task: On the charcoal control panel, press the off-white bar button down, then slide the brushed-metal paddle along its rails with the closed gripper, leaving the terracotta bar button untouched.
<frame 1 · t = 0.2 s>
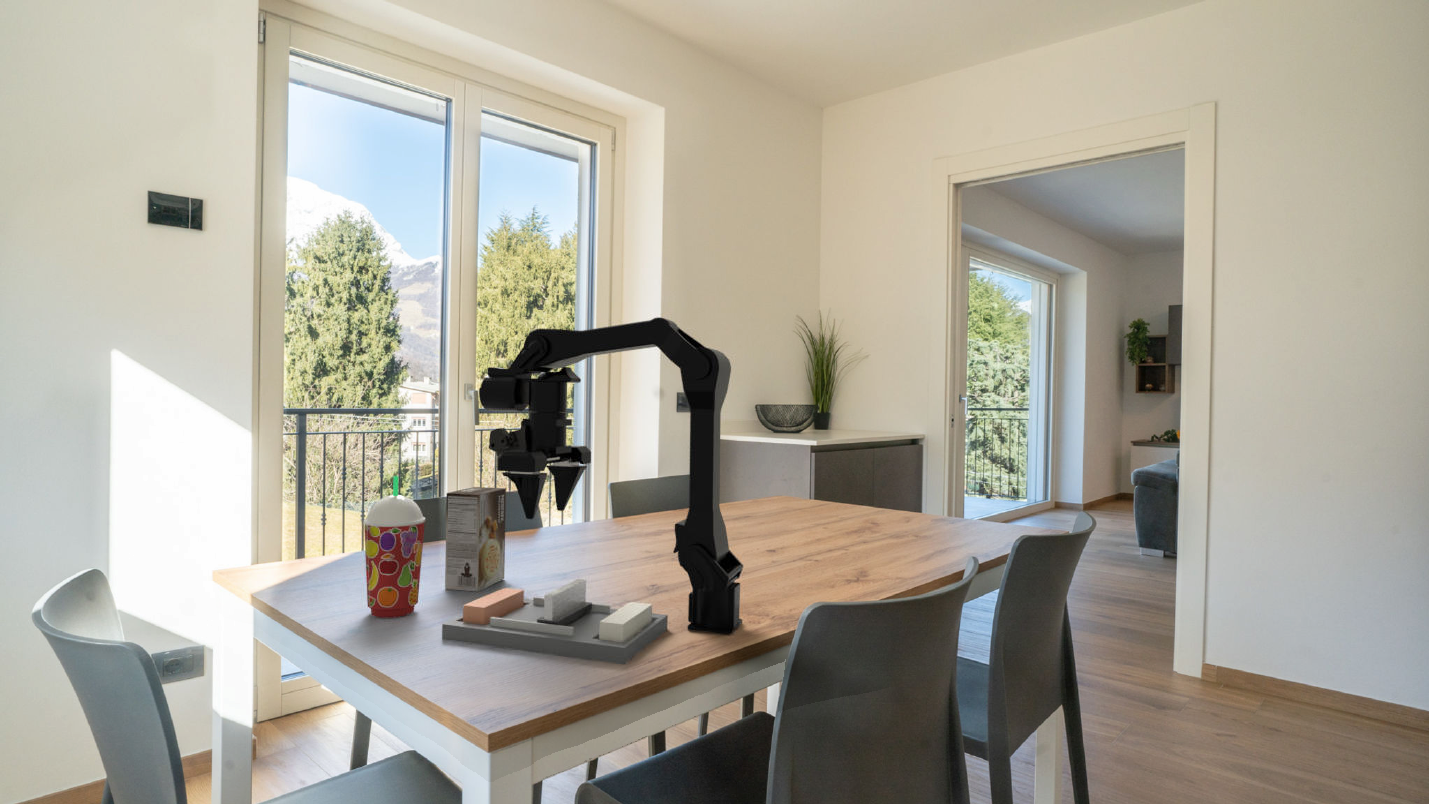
hand: (545, 514, 116), 14 cm above the table, tool pointing down, fingers open, 9 cm apart
smoothie: (392, 614, 111), on the table
button terracotta: (494, 606, 106), point 3 cm above the table, slide at 0.0 cm
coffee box: (475, 585, 129), on the table
slider paddle: (565, 602, 103), point 4 cm above the table, slide at 0.0 cm
button white: (626, 622, 100), point 3 cm above the table, slide at 0.0 cm
panel: (558, 634, 103), on the table
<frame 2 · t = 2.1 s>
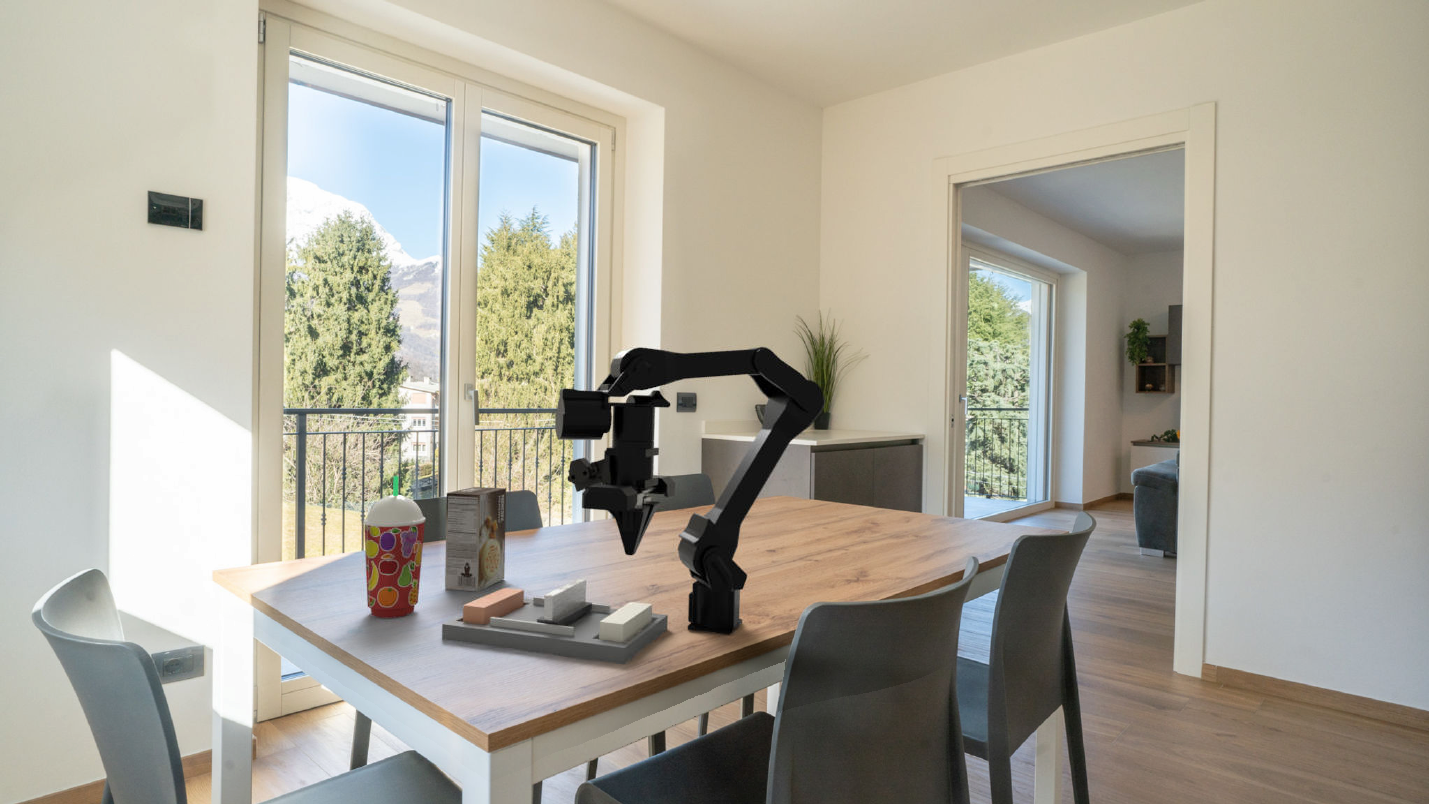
hand: (630, 554, 103), 11 cm above the table, tool pointing down, fingers closed
nothing on the table moved.
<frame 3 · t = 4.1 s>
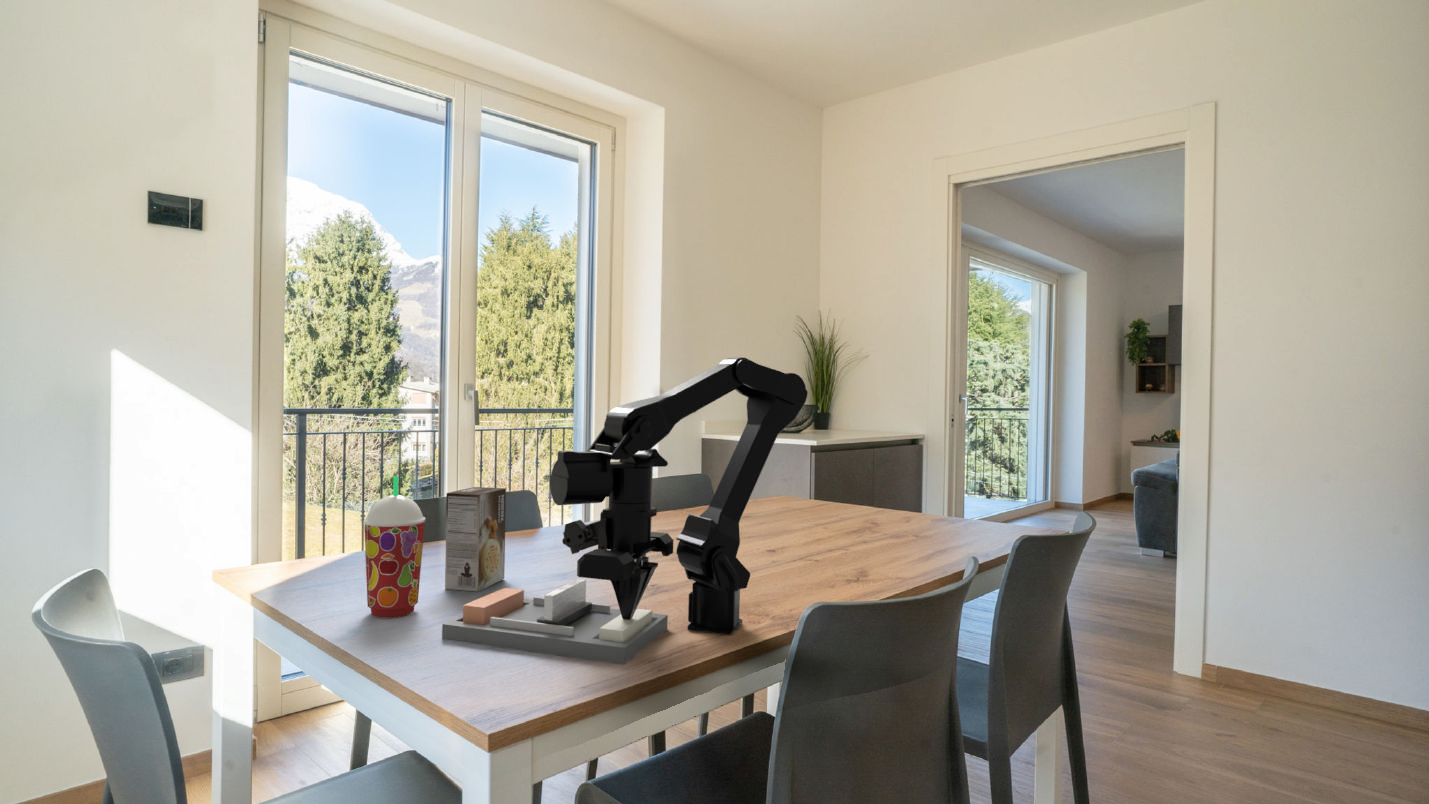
hand: (627, 618, 100), 3 cm above the table, tool pointing down, fingers closed, pressing on button white
button white: (626, 628, 100), point 2 cm above the table, slide at 0.9 cm, touching gripper
everything else where it was.
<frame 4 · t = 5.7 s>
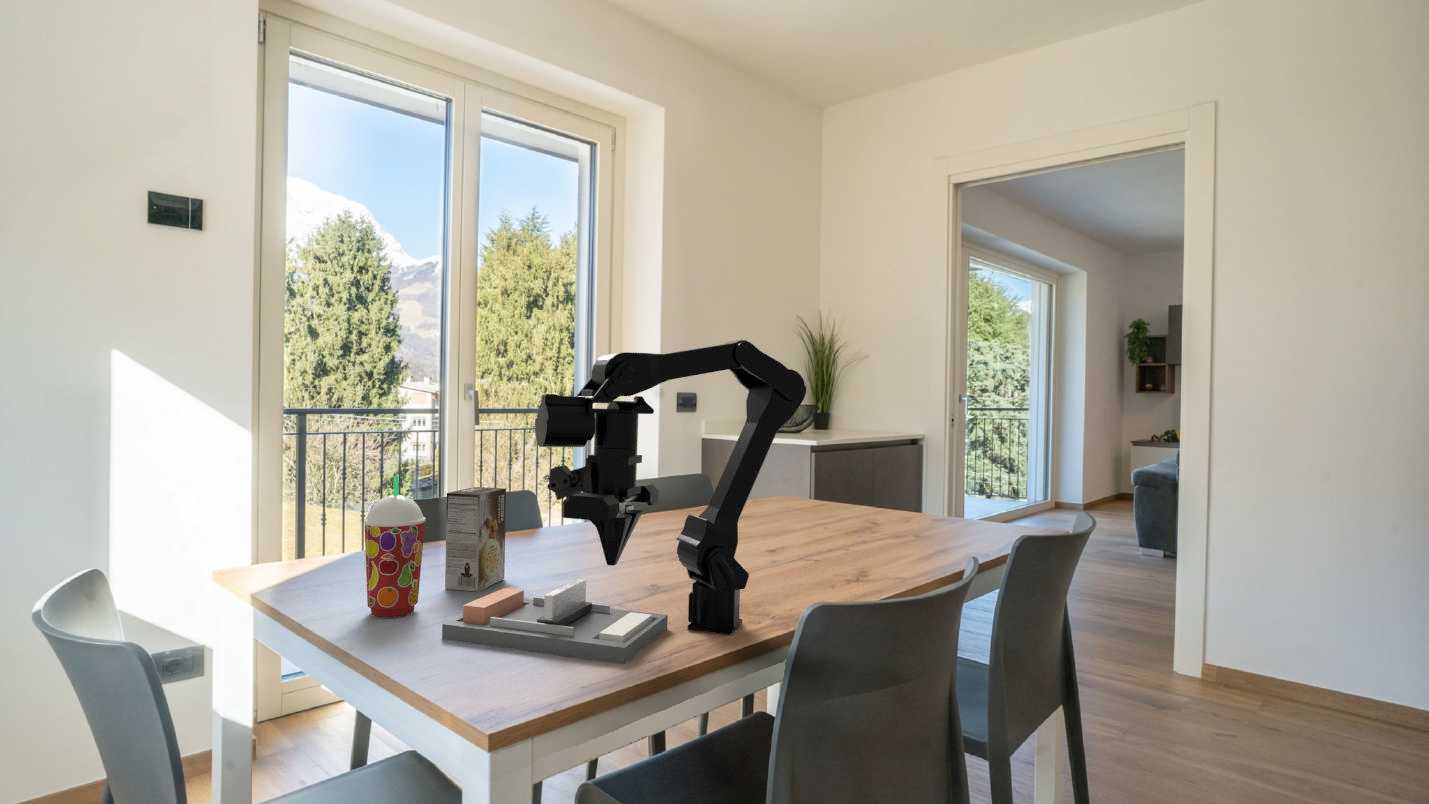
hand: (611, 564, 101), 10 cm above the table, tool pointing down, fingers closed
button white: (626, 632, 100), point 1 cm above the table, slide at 1.4 cm
everything else where it was.
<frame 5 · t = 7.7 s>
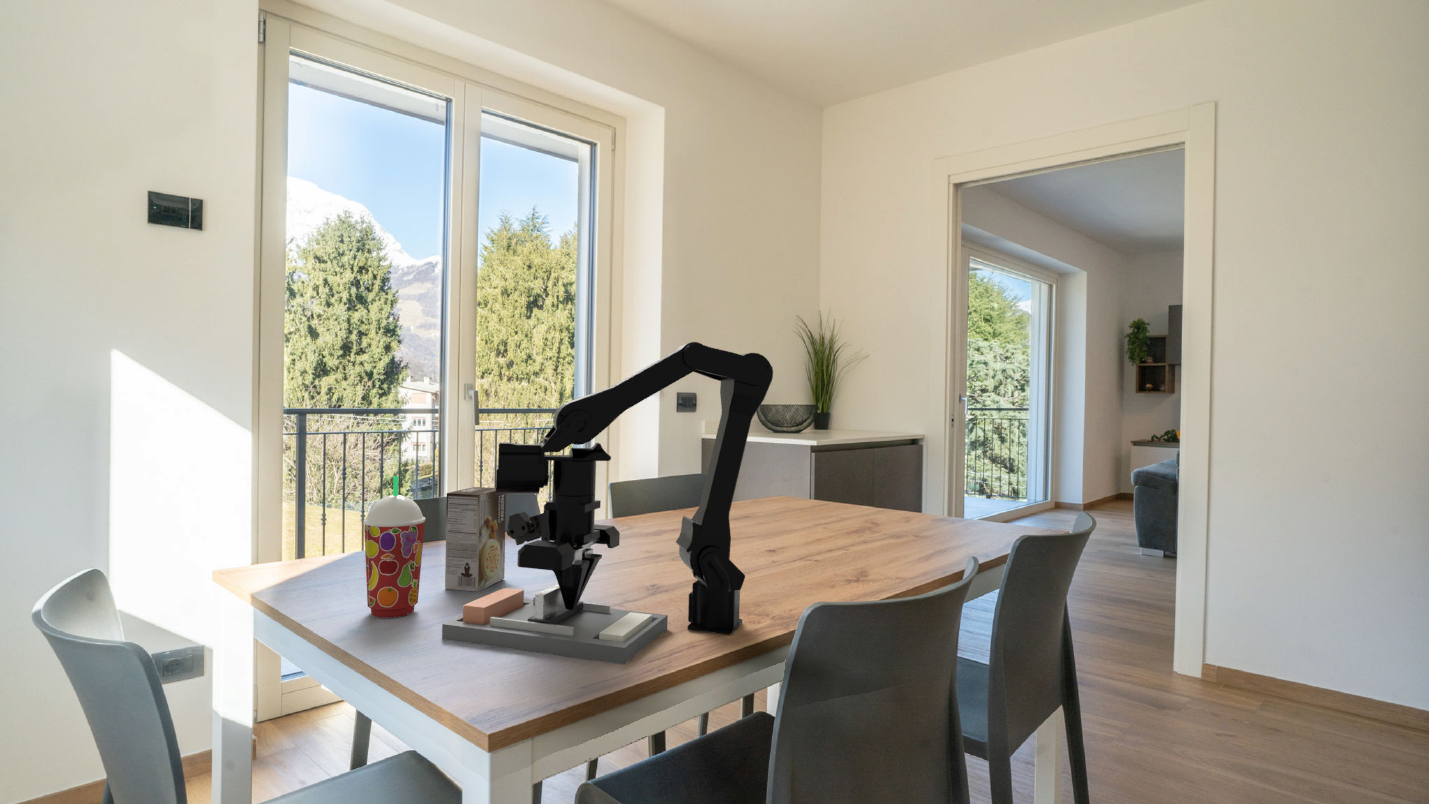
hand: (570, 609, 103), 4 cm above the table, tool pointing down, fingers closed, pressing on slider paddle
slider paddle: (556, 601, 103), point 4 cm above the table, slide at 1.4 cm, touching gripper
everything else where it was.
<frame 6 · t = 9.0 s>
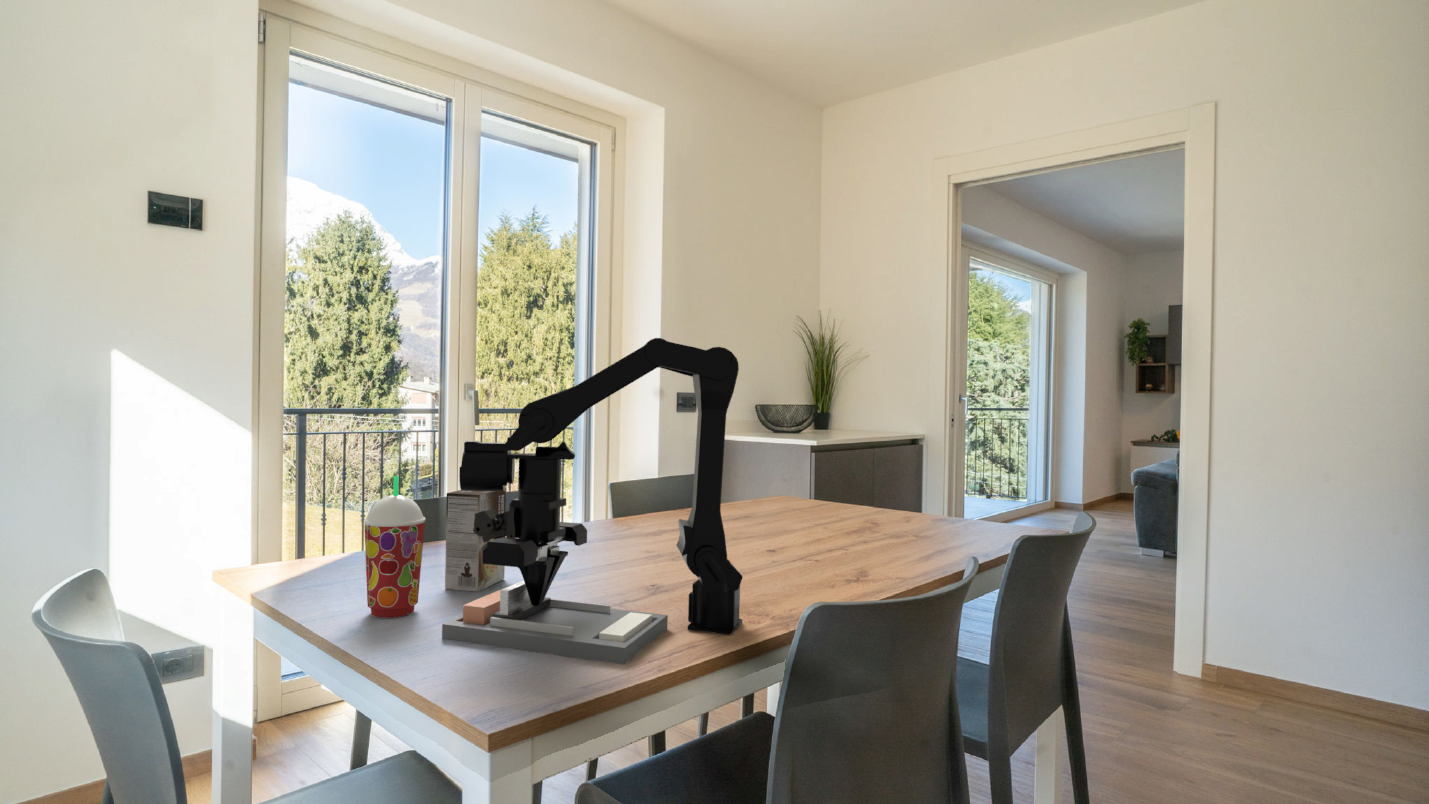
hand: (536, 605, 104), 4 cm above the table, tool pointing down, fingers closed, pressing on slider paddle
slider paddle: (523, 597, 105), point 4 cm above the table, slide at 6.5 cm, touching gripper
everything else where it was.
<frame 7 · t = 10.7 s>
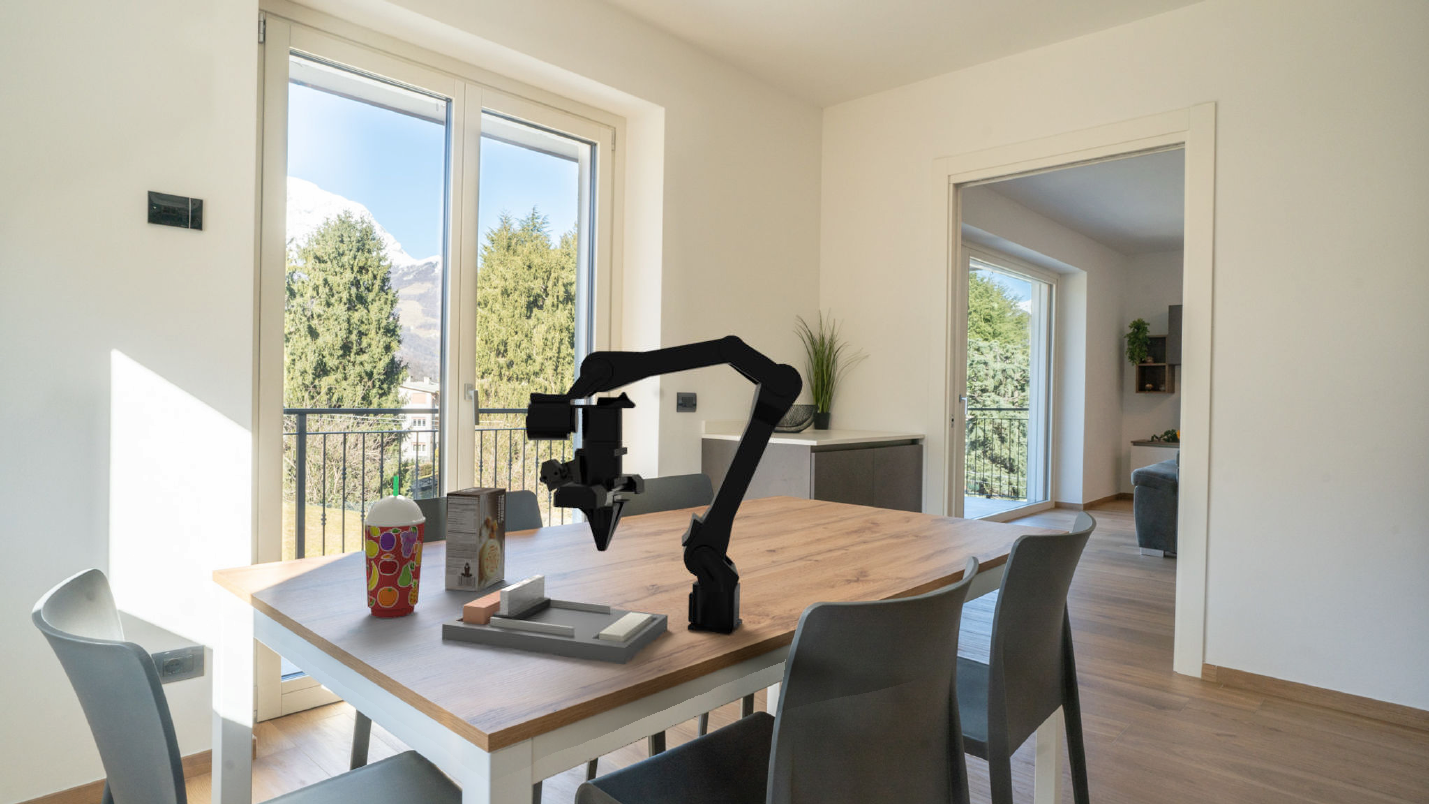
hand: (602, 550, 107), 11 cm above the table, tool pointing down, fingers closed
slider paddle: (523, 597, 105), point 4 cm above the table, slide at 6.6 cm
everything else where it was.
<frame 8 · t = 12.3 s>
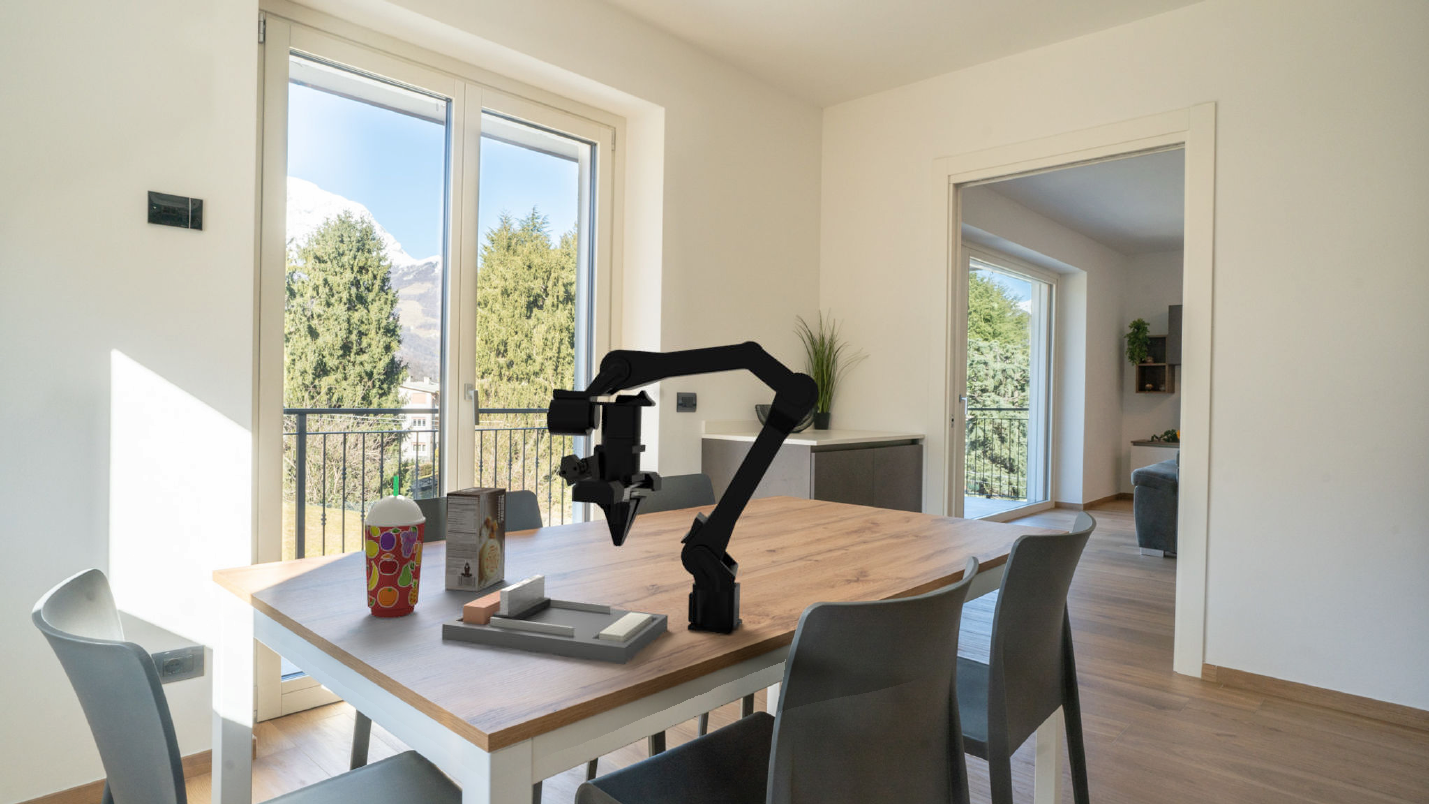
hand: (618, 545, 109), 11 cm above the table, tool pointing down, fingers closed
nothing on the table moved.
at the end: button white slide at 1.4 cm; slider paddle slide at 6.6 cm; button terracotta slide at 0.0 cm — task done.
